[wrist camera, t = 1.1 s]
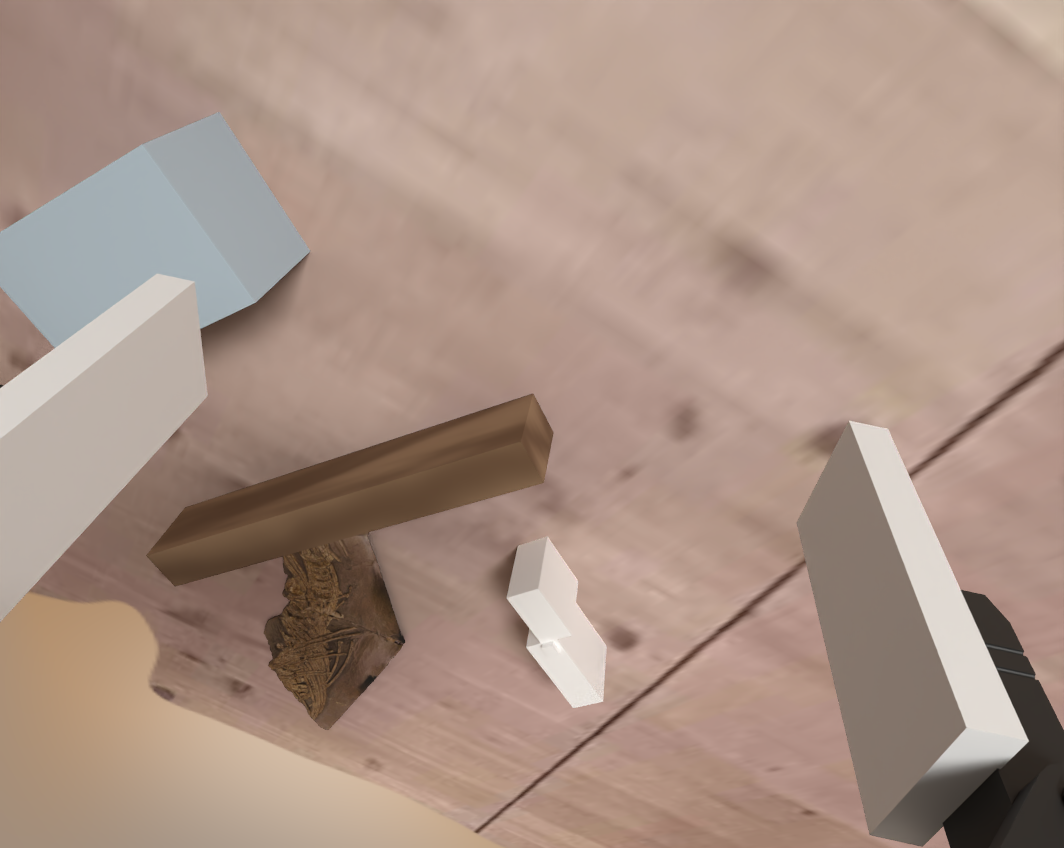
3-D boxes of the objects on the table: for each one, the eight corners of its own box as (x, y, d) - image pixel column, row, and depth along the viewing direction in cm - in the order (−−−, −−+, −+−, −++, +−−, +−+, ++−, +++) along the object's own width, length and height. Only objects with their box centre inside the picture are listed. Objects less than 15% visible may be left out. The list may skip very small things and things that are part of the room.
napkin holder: (622, 668, 58) (619, 734, 53) (480, 637, 58) (465, 700, 53) (673, 528, 49) (675, 592, 44) (506, 493, 49) (490, 553, 45)
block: (63, 206, 42) (-31, 251, 36) (220, 111, 38) (142, 144, 32) (158, 325, 45) (86, 383, 40) (311, 250, 41) (255, 302, 35)
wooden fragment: (289, 500, 52) (283, 510, 51) (437, 550, 53) (434, 560, 52) (254, 701, 67) (249, 712, 66) (370, 738, 67) (367, 748, 67)
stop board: (185, 507, 53) (146, 555, 49) (533, 393, 44) (520, 441, 40) (210, 537, 55) (174, 586, 51) (553, 432, 45) (543, 482, 41)
